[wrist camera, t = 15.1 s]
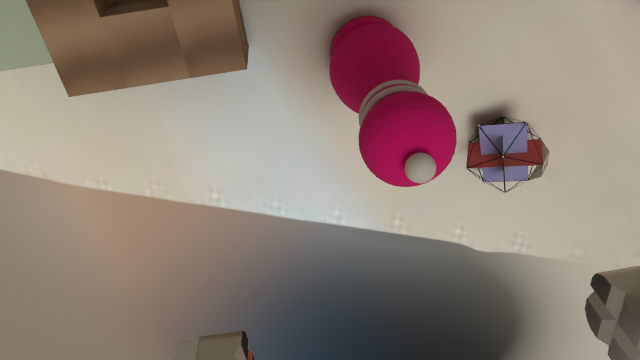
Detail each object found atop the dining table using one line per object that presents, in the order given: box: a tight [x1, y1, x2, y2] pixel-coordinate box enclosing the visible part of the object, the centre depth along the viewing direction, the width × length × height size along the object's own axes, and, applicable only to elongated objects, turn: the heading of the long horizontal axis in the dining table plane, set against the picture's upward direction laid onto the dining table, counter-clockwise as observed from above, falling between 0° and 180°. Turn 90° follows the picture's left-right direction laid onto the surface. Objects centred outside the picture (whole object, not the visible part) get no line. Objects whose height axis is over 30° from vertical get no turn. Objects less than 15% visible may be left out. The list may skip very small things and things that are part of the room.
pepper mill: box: [330, 16, 456, 187], centre depth 37 cm, size 7×7×20 cm
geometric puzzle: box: [466, 116, 549, 193], centre depth 48 cm, size 7×7×8 cm
